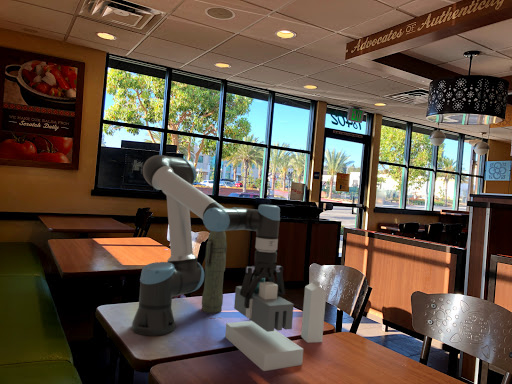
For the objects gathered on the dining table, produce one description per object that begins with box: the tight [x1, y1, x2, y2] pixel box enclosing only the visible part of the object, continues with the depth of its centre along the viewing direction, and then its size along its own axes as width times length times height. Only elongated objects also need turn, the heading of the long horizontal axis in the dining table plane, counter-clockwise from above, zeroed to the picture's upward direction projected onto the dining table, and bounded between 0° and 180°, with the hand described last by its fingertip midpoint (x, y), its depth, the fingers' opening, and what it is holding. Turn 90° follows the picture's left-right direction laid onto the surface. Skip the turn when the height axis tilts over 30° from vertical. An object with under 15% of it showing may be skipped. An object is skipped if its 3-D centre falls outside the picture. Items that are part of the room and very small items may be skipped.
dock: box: [224, 320, 304, 372], centre depth 136 cm, size 28×14×5 cm, turn 28°
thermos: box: [201, 230, 228, 314], centre depth 175 cm, size 9×12×35 cm
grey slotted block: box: [233, 285, 295, 332], centre depth 138 cm, size 24×9×8 cm, turn 28°
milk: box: [300, 278, 327, 343], centre depth 150 cm, size 6×6×22 cm
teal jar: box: [251, 276, 266, 293], centre depth 141 cm, size 4×4×5 cm
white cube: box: [259, 281, 278, 299], centre depth 135 cm, size 4×4×4 cm
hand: (260, 316), depth 138 cm, fingers closed on grey slotted block, 9 cm apart
